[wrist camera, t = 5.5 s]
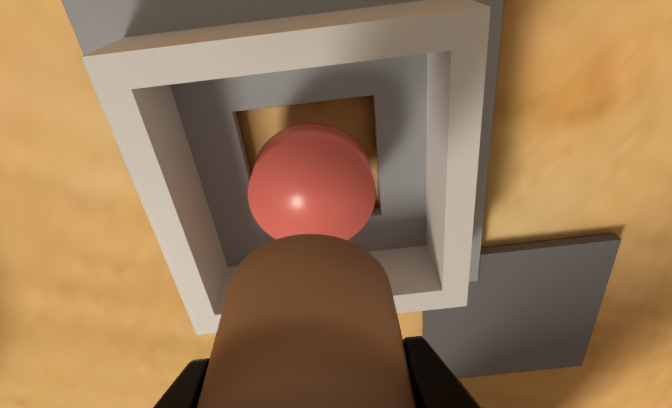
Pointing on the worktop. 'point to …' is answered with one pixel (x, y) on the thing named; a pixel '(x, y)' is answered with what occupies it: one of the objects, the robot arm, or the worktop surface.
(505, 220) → the worktop surface
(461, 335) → the pad
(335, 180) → the button
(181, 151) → the grey square tray
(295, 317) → the dowel
